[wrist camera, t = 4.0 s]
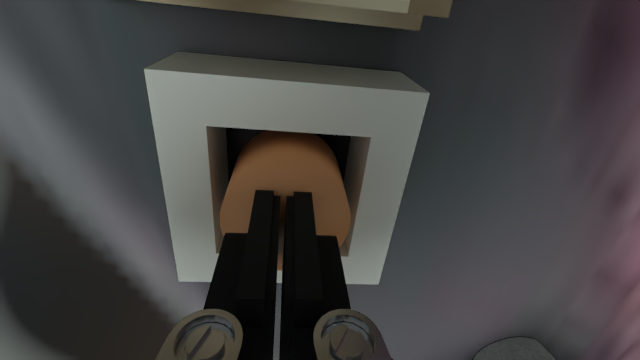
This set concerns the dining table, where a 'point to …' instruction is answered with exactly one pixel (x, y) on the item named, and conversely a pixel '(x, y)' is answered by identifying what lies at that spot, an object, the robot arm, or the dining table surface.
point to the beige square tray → (336, 10)
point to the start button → (287, 183)
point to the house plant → (514, 350)
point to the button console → (280, 115)
